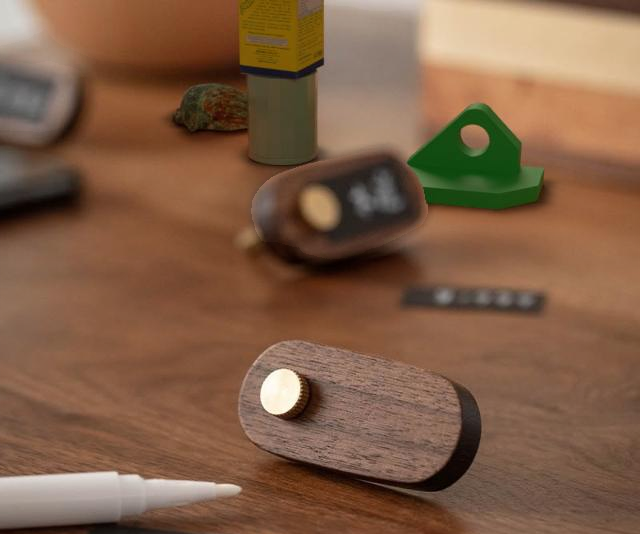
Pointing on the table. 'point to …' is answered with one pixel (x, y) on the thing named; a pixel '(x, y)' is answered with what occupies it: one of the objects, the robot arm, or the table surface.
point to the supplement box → (281, 37)
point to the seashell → (212, 108)
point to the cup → (282, 119)
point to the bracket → (476, 165)
